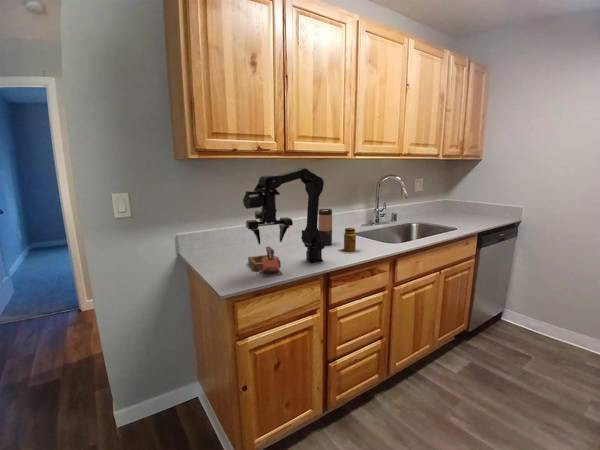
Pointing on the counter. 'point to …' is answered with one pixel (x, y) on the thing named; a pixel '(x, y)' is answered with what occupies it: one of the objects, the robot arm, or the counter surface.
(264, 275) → the mat
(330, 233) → the travel mug
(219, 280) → the counter surface
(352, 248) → the condiment
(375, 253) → the counter surface
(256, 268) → the holder
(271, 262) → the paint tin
